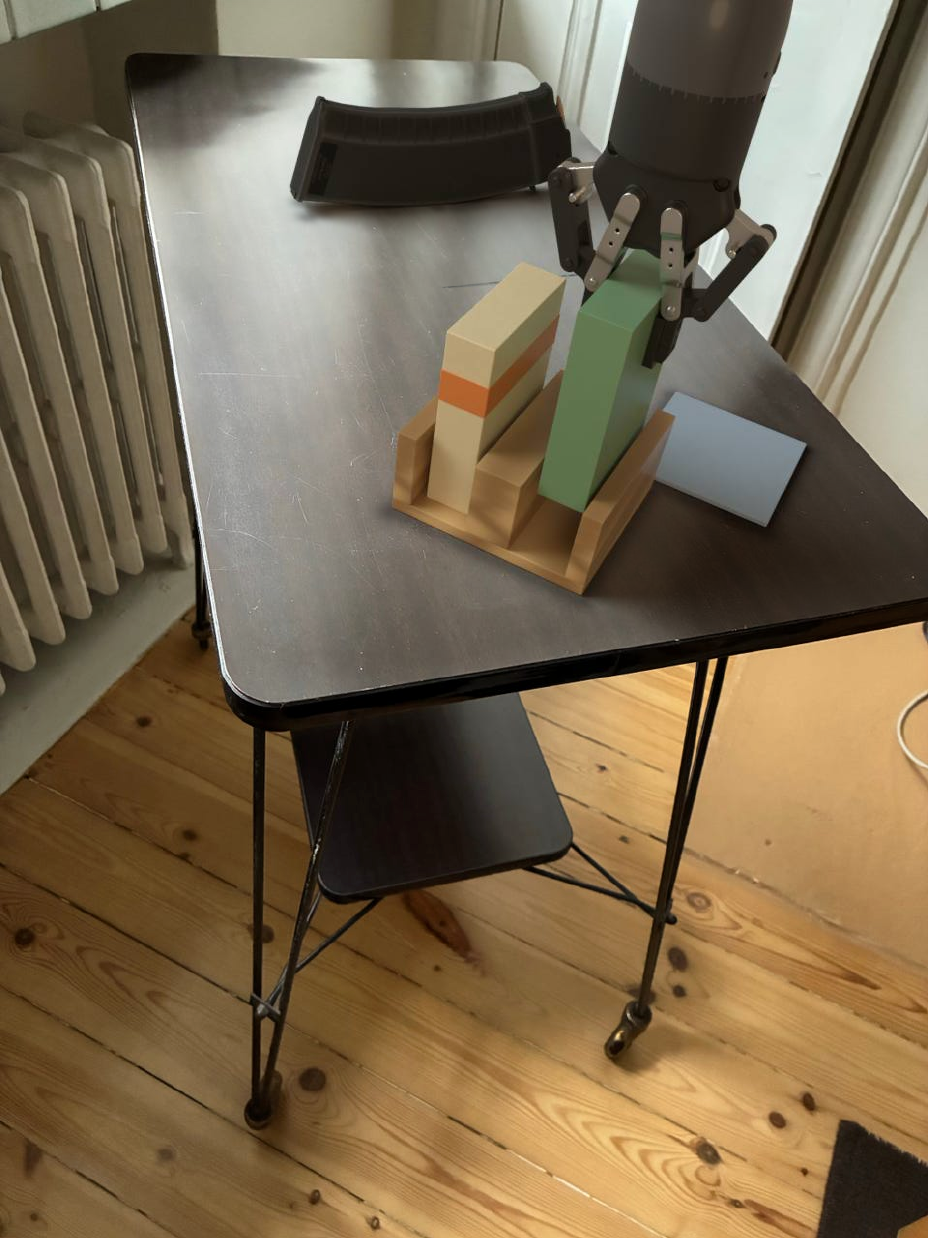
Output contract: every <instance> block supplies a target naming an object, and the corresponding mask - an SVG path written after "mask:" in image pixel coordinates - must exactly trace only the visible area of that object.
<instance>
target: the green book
mask: <svg viewBox="0 0 928 1238" xmlns="http://www.w3.org/2000/svg"><path fill="white" fill-rule="evenodd" d="M660 261H661V259H658V258H656V257H654V256H653V255H651V254H650V253H649V252H647V251H646V250H640V249H633V250H632V251H631V253H629V255H628V256H627V257H626V258H625V259H623V260H622V262H621V264H620V266H619V267H618V268H617V269H616V270H615V271H614V272H613V273H612V274H611V275H610V277H609V278H608V279H607V280H606V281H605V282H604V283H603V284H602V285H601V286H600V287H599V288H598V289H597V291H596V292H595V293H594V294H593V295H592V296H591V297H590V298H589V299H588V300H587V301H586V302H585V303H584V305H583V306H582V307H581V306H580V307H581V308H579V309H577V313H576V317H575V322H574V326H573V331H572V335H571V339H570V344H569V349H568V353H567V358H566V362H565V367H564V375H563V380H562V384H561V389H560V393H559V398H558V402H557V407H556V411H555V416H554V420H553V425H552V429H551V434H550V438H549V443H548V447H547V452H546V456H545V461H544V465H543V470H542V474H541V479H540V483H539V488H538V492H537V493H538V494H540V495H542V496H544V497H547V498H549V499H551V500H553V501H556V502H558V503H560V504H563V505H565V506H567V507H570V508H572V509H574V510H576V511H579V512H581V513H584V512H585V510H586V509H587V508H588V506H589V505H590V503H591V502H592V500H593V499H594V498H595V496H596V495H597V493H598V492H599V491H600V489H601V488H602V486H603V485H604V484H605V482H606V481H607V479H608V478H609V476H610V475H611V474H612V472H613V471H614V469H615V468H616V467H617V465H618V464H619V462H620V461H621V459H622V458H623V457H624V455H625V454H626V452H627V451H628V450H629V448H630V447H631V445H632V444H633V442H634V441H635V440H636V438H637V437H638V435H639V434H640V433H641V431H642V430H643V428H644V427H645V424H646V419H647V416H648V413H649V410H650V406H651V402H652V401H653V396H654V394H655V391H656V388H657V384H658V381H659V377H660V374H661V371H662V369H663V368H662V367H663V365H664V362H663V363H662V364H660V363H658V362H657V363H656V365H655V366H654V367H653V369H652V370H651V369H649V368H646V367H644V366H642V361H643V357H644V354H645V351H646V347H647V344H648V340H649V337H650V333H651V330H652V326H653V323H654V319H655V316H656V315H657V314H658V313H659V311H660V310H661V295H662V283H661V282H660Z"/></svg>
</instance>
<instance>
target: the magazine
mask: <svg viewBox="0 0 928 1238" xmlns="http://www.w3.org/2000/svg"><path fill="white" fill-rule="evenodd" d="M554 96H555V95H554V90H553V87H552V85H550V84H549V83H548V82H547V81H542V82H540V83H539V86H538V87H537V88H534V89H531V90H525V91H518V93H516V94H512V95H507V96H503V97H498V98H493V99H489V100H484V101H479V102H475V103H474V102H473V103H465V104H457V105H448V106H433V107H432V106H431V107H401V106H398V107H394V106H393V107H392V106H391V107H390V106H389V107H387V106H386V107H383V106H381V107H379V106H377V107H376V106H375V107H373V106H363V105H355V104H349V103H342V102H338V101H334V100H330V99H326V98H325V96H321V95H317V96H316V98H315V100H314V104H313V108H312V109H311V111H310V113H309V114H308V117H307V120H306V124H305V128H304V131H303V134H302V139H301V142H300V146H299V149H298V152H297V153H298V154H297V157H296V161H295V165H294V167H293V172H292V175H291V179H290V183H289V192H290V195H291V196H292V198H293V200H294V201H295V200H296V202H297V203H303V202H313V203H314V202H315V203H329V204H340V205H341V204H342V205H355V206H369V207H422V206H436V205H449V204H456V203H464V202H470V201H475V200H482V199H485V198H491V197H495V196H498V195H503V194H508V193H511V192H515V191H519V190H524V189H528V188H529V190H530V191H531V192H532V193H533V194H534V195H535V194H537V187H536V186H539V185H542V184H545V183H548V182H547V179H548V175H549V174H550V173H551V172H552V171H553V170H555V169H556V168H557V167H558V166H559V165H561V164H562V163H563V162H564V161H565V160H567V159H568V158H570V157H573V149H572V135H571V131H570V129H569V128H567V122H566V117H565V111H564V106H563V103H562V100H561V96H560V95H557V96H556V101H555V97H554Z"/></svg>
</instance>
